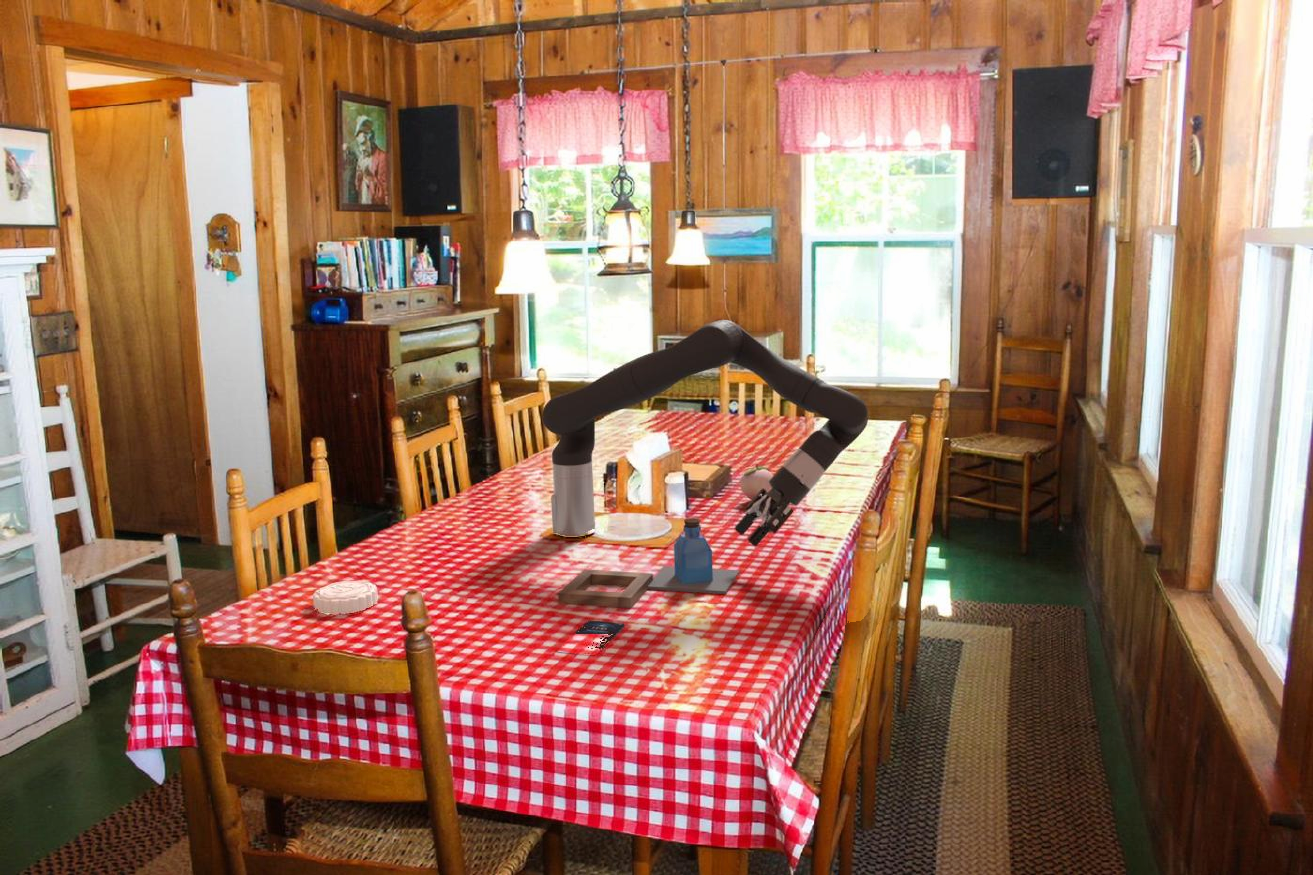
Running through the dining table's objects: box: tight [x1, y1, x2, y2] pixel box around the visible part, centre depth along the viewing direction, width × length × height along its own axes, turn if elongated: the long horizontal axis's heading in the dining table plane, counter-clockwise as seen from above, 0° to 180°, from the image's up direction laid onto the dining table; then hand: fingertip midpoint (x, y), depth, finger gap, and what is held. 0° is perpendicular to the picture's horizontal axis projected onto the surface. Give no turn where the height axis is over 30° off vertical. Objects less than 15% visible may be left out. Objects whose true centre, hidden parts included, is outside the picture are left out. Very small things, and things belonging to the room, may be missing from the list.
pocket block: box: [557, 569, 654, 609], centre depth 209 cm, size 15×15×2 cm
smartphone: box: [573, 620, 626, 650], centre depth 186 cm, size 8×1×15 cm
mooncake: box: [312, 580, 379, 614], centre depth 207 cm, size 12×12×4 cm
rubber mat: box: [648, 565, 740, 595], centre depth 214 cm, size 16×13×1 cm
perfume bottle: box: [673, 517, 714, 584], centre depth 213 cm, size 6×6×12 cm
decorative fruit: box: [739, 463, 774, 501], centre depth 273 cm, size 9×8×10 cm
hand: (744, 537), depth 215 cm, fingers open, 8 cm apart
